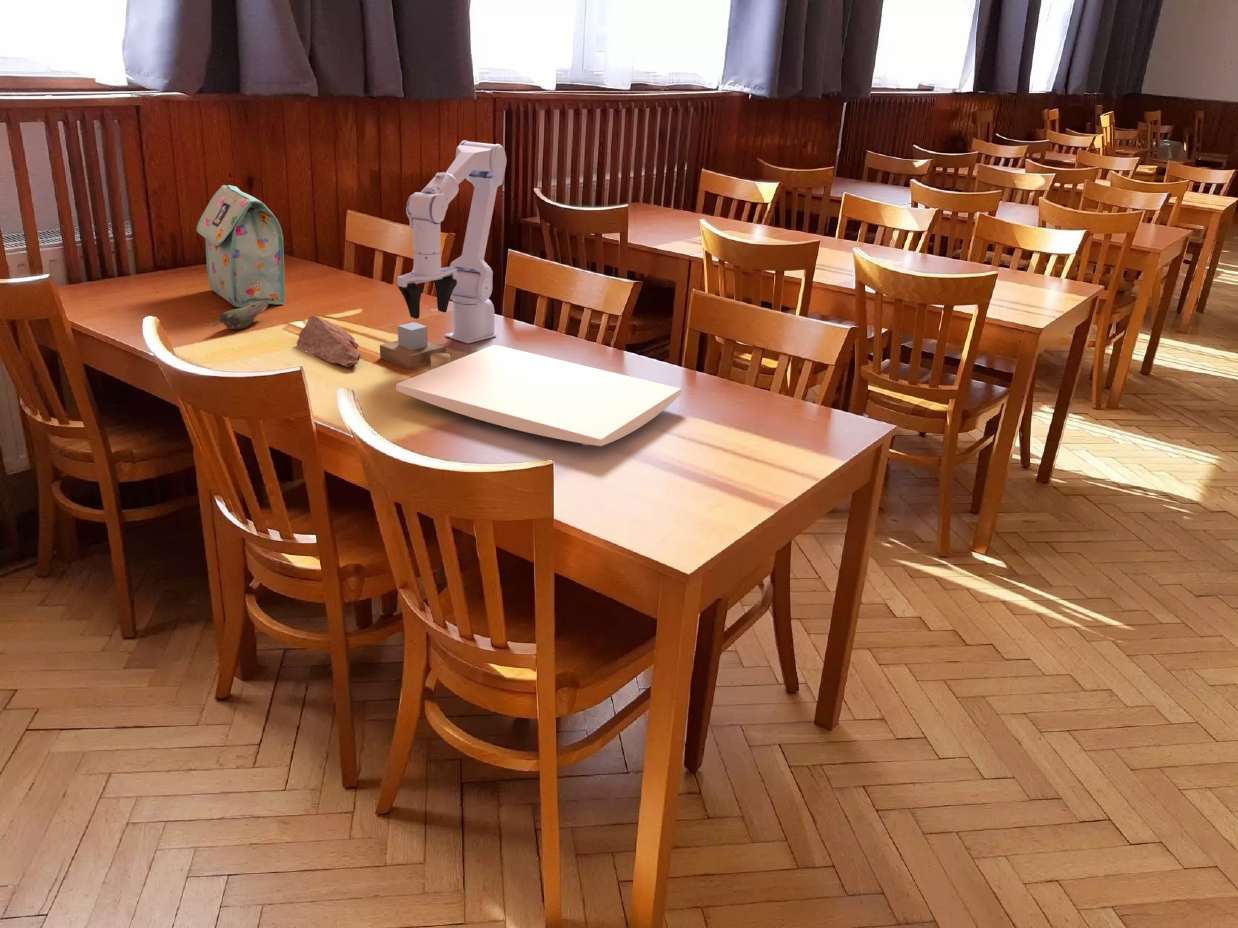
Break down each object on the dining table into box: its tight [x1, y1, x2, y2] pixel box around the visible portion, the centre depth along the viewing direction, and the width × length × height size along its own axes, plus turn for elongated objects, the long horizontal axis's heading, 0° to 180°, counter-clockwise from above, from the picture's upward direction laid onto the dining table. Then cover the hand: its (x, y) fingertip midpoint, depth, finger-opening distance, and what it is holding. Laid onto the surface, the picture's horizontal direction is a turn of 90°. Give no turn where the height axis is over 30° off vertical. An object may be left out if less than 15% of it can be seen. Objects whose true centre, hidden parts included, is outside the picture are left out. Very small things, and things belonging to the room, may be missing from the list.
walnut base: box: [379, 340, 447, 370], centre depth 213 cm, size 10×10×3 cm
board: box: [395, 344, 682, 447], centre depth 191 cm, size 45×32×5 cm
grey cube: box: [397, 321, 429, 350], centre depth 212 cm, size 4×4×4 cm
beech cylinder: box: [430, 352, 451, 370], centre depth 203 cm, size 4×4×5 cm
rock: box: [296, 315, 361, 368], centre depth 214 cm, size 10×24×10 cm
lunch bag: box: [196, 184, 286, 308], centre depth 245 cm, size 23×16×27 cm
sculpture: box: [210, 298, 270, 330], centre depth 226 cm, size 5×19×5 cm, turn 158°
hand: (428, 314), depth 211 cm, fingers open, 7 cm apart
